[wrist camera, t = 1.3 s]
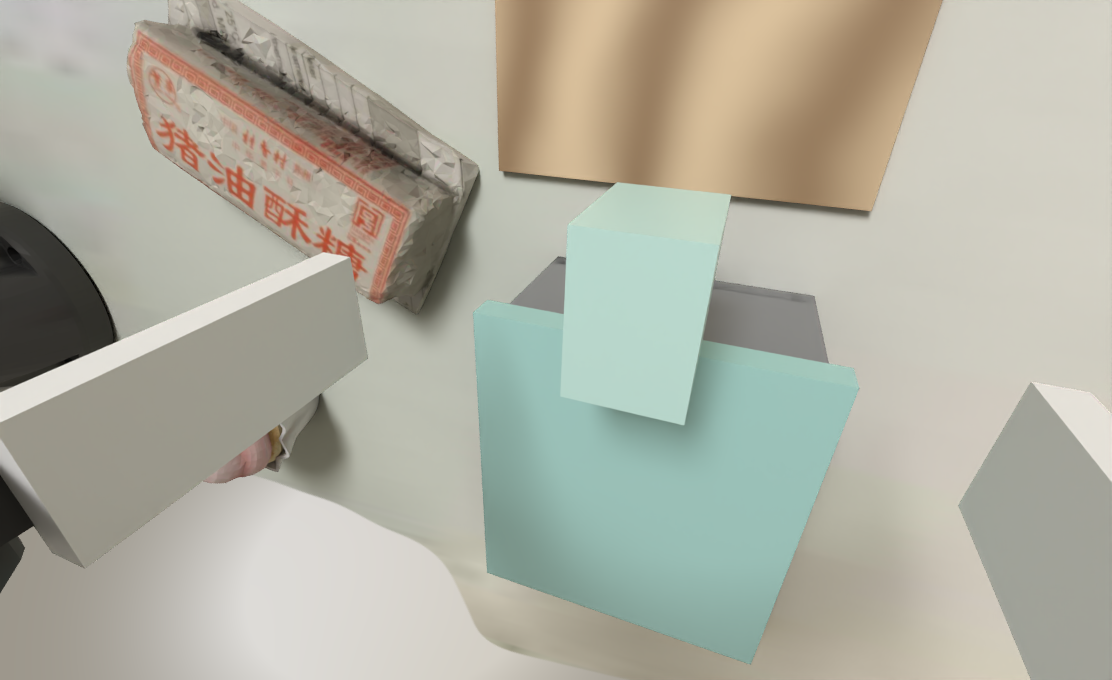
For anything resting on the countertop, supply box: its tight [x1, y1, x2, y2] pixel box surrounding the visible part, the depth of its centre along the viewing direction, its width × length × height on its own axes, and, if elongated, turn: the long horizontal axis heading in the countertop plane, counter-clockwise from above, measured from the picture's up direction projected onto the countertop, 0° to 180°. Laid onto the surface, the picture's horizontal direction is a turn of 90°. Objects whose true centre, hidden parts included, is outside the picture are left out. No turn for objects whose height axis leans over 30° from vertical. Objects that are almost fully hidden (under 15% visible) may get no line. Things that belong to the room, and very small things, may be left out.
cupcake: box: [204, 395, 319, 483], centre depth 34 cm, size 9×9×10 cm
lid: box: [473, 182, 859, 665], centre depth 19 cm, size 13×20×5 cm, turn 178°
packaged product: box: [127, 0, 479, 314], centre depth 26 cm, size 18×5×10 cm
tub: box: [510, 257, 829, 364], centre depth 25 cm, size 12×14×7 cm
